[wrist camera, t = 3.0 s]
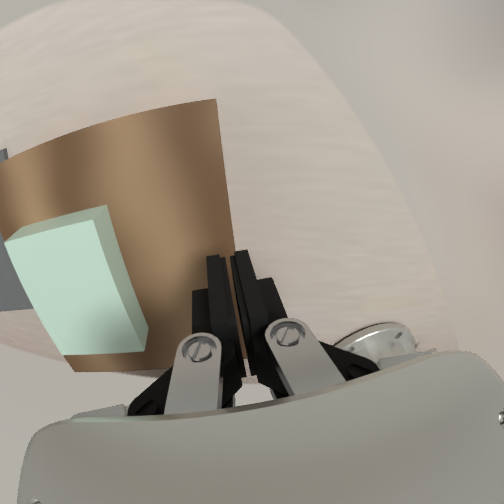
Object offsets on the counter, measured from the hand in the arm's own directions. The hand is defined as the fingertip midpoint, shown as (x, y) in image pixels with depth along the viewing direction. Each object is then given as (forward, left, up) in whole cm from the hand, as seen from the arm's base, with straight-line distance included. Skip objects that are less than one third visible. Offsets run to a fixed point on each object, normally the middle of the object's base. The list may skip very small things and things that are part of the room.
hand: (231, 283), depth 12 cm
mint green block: (+9, +1, -3) cm, 9 cm away
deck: (+7, +1, -7) cm, 10 cm away
